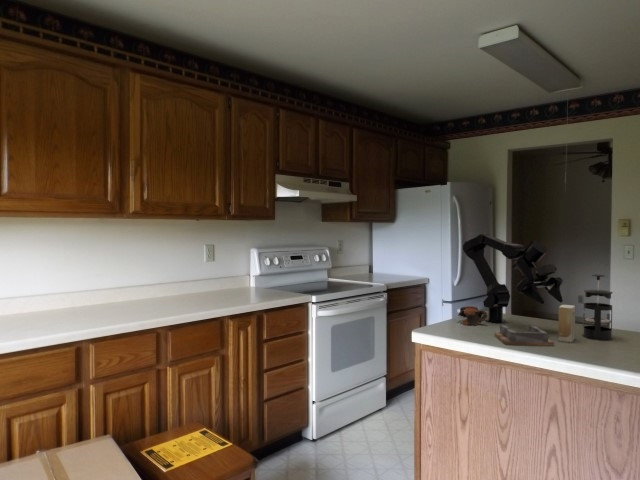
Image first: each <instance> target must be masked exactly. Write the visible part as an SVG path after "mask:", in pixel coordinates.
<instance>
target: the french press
mask: <svg viewBox="0 0 640 480" xmlns="http://www.w3.org/2000/svg"><path fill="white" fill-rule="evenodd" d="M591 277H596V280H597V289H584V290H583V292H584V295H585V298H590V297H594V296H595V297H597V298H596V299H597V302H585V303H583V309H587V310H593V311H594V312H593V313H594V316H593V317H585V314H582V315H583V320H582V321H583V324H582V330H583V331H582V337H583V338H586V339H589V340H596V341H611V340H613V305H612V304H608V303H603V302H599V297H604V298H606V299H608V300H610V299H612V294H613V291H609V290H605V289H599V287H600V281H601V277H605V275H604V274H592V275H591ZM602 311H610V312H611V313H610V319H607V318H602ZM585 322H587V323H592V324H593V325H585ZM606 324H607V325H609V324H610V327H606V326H601V325H606Z"/></svg>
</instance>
